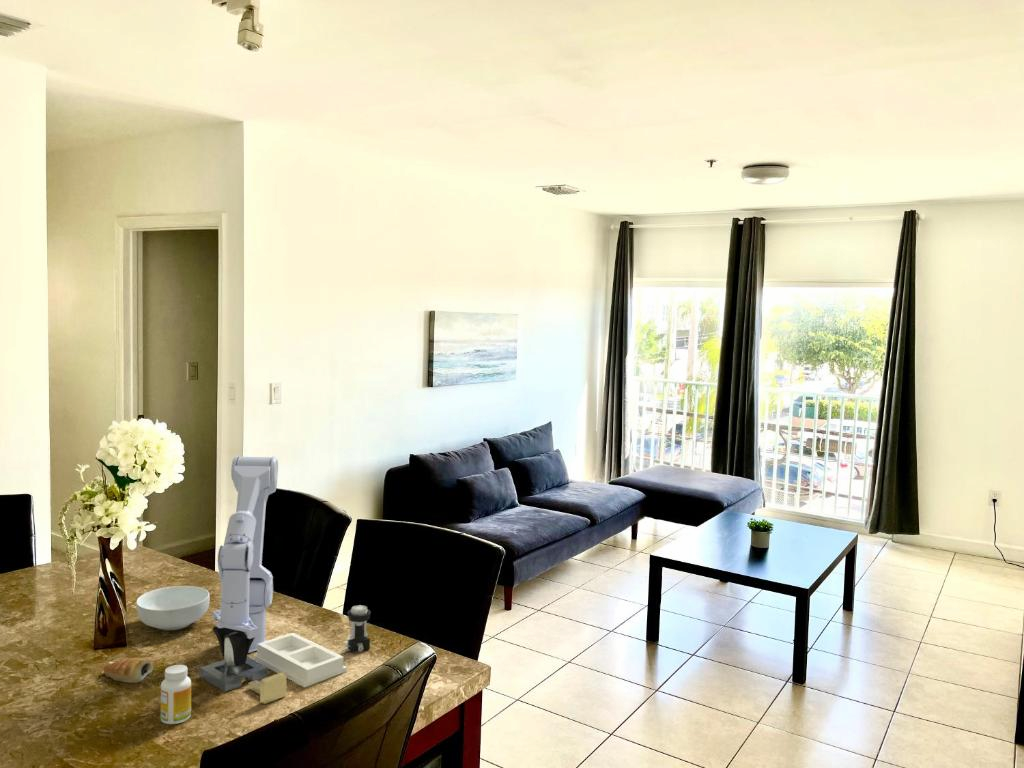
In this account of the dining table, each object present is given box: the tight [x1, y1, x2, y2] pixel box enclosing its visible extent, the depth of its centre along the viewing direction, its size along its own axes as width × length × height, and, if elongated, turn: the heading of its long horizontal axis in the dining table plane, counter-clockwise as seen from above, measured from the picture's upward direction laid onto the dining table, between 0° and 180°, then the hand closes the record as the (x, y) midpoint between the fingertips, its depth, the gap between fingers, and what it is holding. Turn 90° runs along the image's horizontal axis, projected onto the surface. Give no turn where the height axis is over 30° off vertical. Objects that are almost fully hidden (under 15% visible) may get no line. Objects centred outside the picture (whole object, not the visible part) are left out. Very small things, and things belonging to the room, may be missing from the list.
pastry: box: [103, 657, 154, 684], centre depth 171 cm, size 9×7×4 cm
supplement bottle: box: [160, 664, 192, 725], centre depth 154 cm, size 5×5×10 cm
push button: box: [341, 604, 372, 653], centre depth 188 cm, size 7×5×10 cm
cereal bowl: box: [135, 585, 211, 631], centre depth 199 cm, size 17×17×7 cm
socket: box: [199, 656, 269, 693], centre depth 172 cm, size 10×10×2 cm
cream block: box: [247, 672, 287, 705], centre depth 165 cm, size 8×5×4 cm, turn 50°
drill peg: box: [223, 632, 244, 676], centre depth 172 cm, size 4×4×9 cm
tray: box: [253, 632, 348, 688], centre depth 179 cm, size 19×11×4 cm, turn 50°
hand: (234, 661), depth 172 cm, fingers closed on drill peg, 4 cm apart
